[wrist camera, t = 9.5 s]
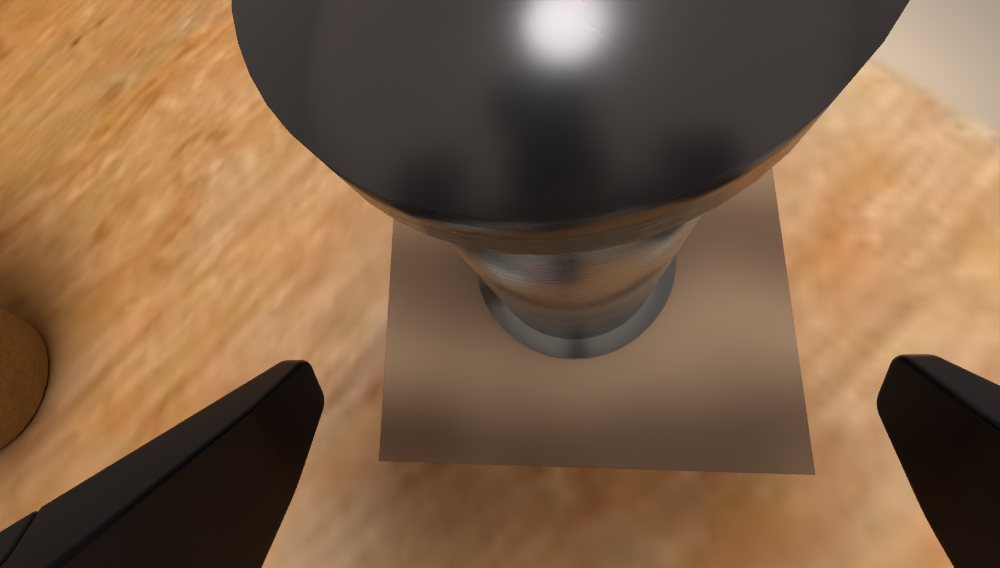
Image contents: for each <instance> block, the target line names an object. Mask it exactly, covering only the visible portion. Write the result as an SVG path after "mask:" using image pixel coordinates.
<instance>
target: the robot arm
mask: <svg viewBox="0 0 1000 568" xmlns="http://www.w3.org/2000/svg"><path fill="white" fill-rule="evenodd" d="M323 407H324V395H323V392H322V390H321V387H320V385H319V383H318V380H317V378H316V376H315V373H314V371H313V369H312V366H311V365H310V364H309V363H308V362H307V361H304V360H286V361H282V362H280V363H278V364H276V365H275V366H273V367H272V368H270V369H268V370H267V371H265V372H263V373H262V374H260V375H258V376H257V377H255V378H253V379H252V380H250V381H248V382H247V383H245V384H244V385H242V386H240V387H239V388H237V389H235V390H234V391H232V392H230V393H229V394H227V395H225V396H224V397H222V398H220V399H219V400H217V401H216V402H214V403H212V404H211V405H209V406H207V407H206V408H204V409H202V410H201V411H199V412H197V413H196V414H194V415H192V416H191V417H189V418H188V419H186V420H184V421H183V422H181V423H179V424H178V425H176V426H174V427H173V428H171V429H169V430H168V431H166V432H164V433H163V434H161V435H160V436H158V437H156V438H155V439H153V440H151V441H150V442H148V443H146V444H145V445H143V446H141V447H140V448H138V449H136V450H135V451H133V452H132V453H130V454H128V455H127V456H125V457H123V458H122V459H120V460H118V461H117V462H115V463H113V464H112V465H110V466H108V467H107V468H105V469H104V470H102V471H100V472H99V473H97V474H95V475H94V476H92V477H90V478H89V479H87V480H85V481H84V482H82V483H80V484H79V485H77V486H76V487H74V488H72V489H71V490H69V491H67V492H66V493H64V494H62V495H61V496H59V497H57V498H56V499H54V500H52V501H51V502H49V503H48V504H46V505H44V506H43V507H41V509H40V510H39V511H35V512H32V513H31V514H29V515H27V516H26V517H24V518H23V519H21V520H19V521H18V522H16V523H14V524H13V525H11V526H9V527H8V528H6V529H4V530H3V531H1V532H0V568H262V565H263V563H264V561H265V559H266V556H267V554H268V552H269V550H270V547H271V545H272V543H273V541H274V538H275V536H276V534H277V532H278V529H279V527H280V525H281V523H282V520H283V518H284V516H285V514H286V511H287V509H288V507H289V505H290V502H291V500H292V498H293V495H294V493H295V490H296V488H297V485H298V482H299V479H300V477H301V474H302V471H303V468H304V465H305V462H306V459H307V456H308V453H309V450H310V447H311V444H312V441H313V438H314V435H315V432H316V429H317V426H318V423H319V420H320V417H321V414H322V411H323ZM877 409H878V413H879V416H880V418H881V420H882V422H883V425H884V427H885V429H886V431H887V433H888V436H889V438H890V440H891V442H892V445H893V447H894V449H895V451H896V454H897V456H898V458H899V460H900V463H901V465H902V467H903V469H904V471H905V474H906V476H907V478H908V480H909V483H910V485H911V487H912V489H913V492H914V494H915V496H916V498H917V500H918V503H919V505H920V507H921V509H922V511H923V513H924V515H925V517H926V519H927V521H928V522H929V524H930V526H931V528H932V530H933V532H934V533H935V535H936V537H937V539H938V540H939V542H940V544H941V546H942V547H943V549H944V551H945V553H946V554H947V556H948V558H949V559H950V561H951V563H952V565H953V566H954V568H1000V386H999V385H997V384H995V383H993V382H991V381H989V380H987V379H984V378H982V377H980V376H978V375H976V374H974V373H972V372H970V371H967V370H965V369H963V368H961V367H959V366H957V365H955V364H953V363H950V362H948V361H946V360H944V359H942V358H940V357H937V356H934V355H929V354H911V355H900V356H897V357H895V358H894V359H893V360H892V362H891V364H890V366H889V369H888V371H887V374H886V376H885V379H884V381H883V384H882V386H881V389H880V391H879V394H878V397H877Z"/></svg>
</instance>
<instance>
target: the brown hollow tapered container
mask: <svg viewBox="0 0 1000 568" xmlns="http://www.w3.org/2000/svg"><path fill="white" fill-rule="evenodd" d="M47 377H48V355H47V350H46V347H45V344H44V341H43V339H42V338H41V336H40V334H39V333H38V331H37V330H36V329H35V328H34V327H33V326H32V325H31V324H29V323H28V322H26V321H24V320H22V319H21V318H19V317H17V316H15V315H13V314H11V313H9V312H7V311H6V310H4V309H2V308H0V449H1V448H3V447H4V446H5V445H7V444H8V443H9V442H11V441H12V440H13V439H14V438H15V437H16V436H17V435H19V433H20V432H21V431H22V430H23V429H24V428H25V427H26V425H27V424H28V422H29V421H30V420H31V418H32V417H33V415H34V413H35V412H36V410H37V408H38V406H39V404H40V402H41V399H42V396H43V393H44V390H45V386H46V383H47Z"/></svg>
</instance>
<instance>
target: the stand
mask: <svg viewBox="0 0 1000 568" xmlns="http://www.w3.org/2000/svg"><path fill="white" fill-rule="evenodd" d="M379 461H399V462H430V463H461V464H492V465H523V466H555V467H586V468H617V469H648V470H680V471H711V472H742V473H773V474H804V475H815V470H814V463H813V456H812V449H811V442H810V435H809V427H808V420H807V413H806V406H805V399H804V392H803V385H802V377H801V370H800V363H799V356H798V349H797V342H796V335H795V328H794V320H793V313H792V306H791V299H790V292H789V285H788V278H787V270H786V263H785V256H784V249H783V242H782V235H781V228H780V220H779V213H778V206H777V199H776V192H775V185H774V178H773V170H772V168H771V169H770V170H769V171H767V172H766V173H765V174H764V175H763V176H762V177H761V178H760V179H758V180H757V181H756V182H754V183H753V184H751V185H750V186H748V187H747V188H745V189H744V190H742V191H741V192H739V193H738V194H736V195H735V196H733V197H732V198H731V199H729V200H728V201H726V202H725V203H723V204H722V205H720V206H718V207H716V208H714V209H712V210H710V211H708V212H706V213H704V214H702V216H701V217H700V219H699V220H698V222H697V223H696V225H695V226H694V228H693V229H692V231H691V233H690V234H689V236H688V237H687V239H686V240H685V242H684V243H683V245H682V246H681V248H680V249H679V251H678V252H677V254H676V272H675V279H674V283H673V287H672V290H671V294H670V296H669V298H668V300H667V302H666V305H665V306H664V308H663V309H662V311H661V313H660V314H659V316H658V317H657V318H656V319H655V321H654V322H653V323H652V324H651V325H650V327H649V328H648V329H647V330H646V331H644V332H643V333H642V334H641V335H640V336H639V337H638V338H637V339H635V340H634V341H632V342H631V343H629V344H628V345H626V346H625V347H623V348H621V349H618V350H616V351H614V352H612V353H609V354H606V355H603V356H599V357H594V358H589V359H562V358H557V357H552V356H548V355H545V354H542V353H539V352H537V351H535V350H533V349H531V348H529V347H527V346H525V345H524V344H522V343H521V342H519V341H518V340H516V339H515V338H514V337H512V336H511V335H510V334H509V333H508V332H507V331H506V330H504V329H503V328H502V326H501V325H500V324H499V323H498V322H497V321H496V320H495V318H494V317H493V315H492V314H491V312H490V311H489V309H488V307H487V305H486V303H485V301H484V299H483V296H482V293H481V290H480V287H479V283H478V277H477V273H476V272H475V271H474V270H473V269H472V267H471V266H470V265H469V264H468V263H467V262H466V261H465V260H464V259H463V258H462V256H461V255H460V254H459V253H458V252H457V251H456V250H455V249H454V248H453V246H452V245H451V244H450V243H449V242H447V241H444V240H440V239H437V238H434V237H431V236H429V235H426V234H424V233H422V232H420V231H418V230H415V229H413V228H411V227H409V226H407V225H404V224H402V223H400V222H398V221H396V220H395V219H394V222H393V238H392V255H391V272H390V288H389V305H388V322H387V338H386V355H385V372H384V388H383V405H382V422H381V438H380V455H379Z"/></svg>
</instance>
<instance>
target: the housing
mask: <svg viewBox="0 0 1000 568" xmlns="http://www.w3.org/2000/svg"><path fill="white" fill-rule="evenodd" d="M908 2H909V0H232V14H233V19H234V24H235V29H236V34H237V39H238V44H239V47H240V49H241V52H242V55H243V58H244V60H245V63H246V66H247V68H248V71H249V74H250V76H251V78H252V79H253V81H254V83H255V85H256V87H257V88H258V90H259V92H260V94H261V95H262V97H263V99H264V101H265V102H266V104H267V106H268V107H269V108H270V109H271V110H272V112H273V113H274V114H275V115H276V117H277V118H278V119H279V120H280V121H281V123H282V124H283V125H284V126H285V128H286V129H287V130H288V131H289V133H290V134H292V135H293V136H294V137H295V138H296V139H297V140H298V141H300V142H301V143H302V144H303V145H304V146H305V147H306V148H307V149H309V150H310V151H311V152H312V153H313V154H314V155H315V156H316V157H318V158H319V159H320V160H321V161H322V162H323V163H324V164H326V165H327V166H328V167H329V168H330V169H331V170H332V171H334V172H335V173H336V174H337V175H338V176H339V177H340V178H342V179H343V180H344V181H345V182H346V183H347V184H348V185H349V186H351V187H352V188H353V189H354V190H355V191H356V192H357V193H359V194H360V195H361V196H362V197H363V198H364V199H365V200H367V201H368V202H369V203H370V204H372V205H373V206H375V207H376V208H378V209H379V210H381V211H383V212H384V213H386V214H387V215H389V216H390V217H392V218H393V219H395V220H396V221H398V222H400V223H402V224H404V225H407V226H409V227H411V228H413V229H415V230H418V231H420V232H422V233H424V234H426V235H429V236H431V237H434V238H437V239H440V240H444V241H447V242H449V243H450V244H451V245H452V246H453V248H454V249H455V250H456V251H457V252H458V253H459V254H460V255H461V256H462V258H463V259H464V260H465V261H466V262H467V263H468V264H469V265H470V266H471V267H472V269H473V270H474V271H475V272H476V273H477V277H478V283H479V287H480V290H481V293H482V296H483V299H484V301H485V303H486V305H487V307H488V309H489V311H490V312H491V314H492V315H493V317H494V318H495V320H496V321H497V322H498V323H499V324H500V325H501V326H502V328H503V329H504V330H506V331H507V332H508V333H509V334H510V335H511V336H512V337H514V338H515V339H516V340H518V341H519V342H521V343H522V344H524V345H525V346H527V347H529V348H531V349H533V350H535V351H537V352H539V353H542V354H545V355H548V356H552V357H557V358H562V359H589V358H594V357H599V356H603V355H606V354H609V353H612V352H614V351H616V350H618V349H621V348H623V347H625V346H626V345H628V344H629V343H631V342H632V341H634V340H635V339H637V338H638V337H639V336H640V335H641V334H642V333H643V332H644V331H646V330H647V329H648V328H649V327H650V325H651V324H652V323H653V322H654V321H655V319H656V318H657V317H658V316H659V314H660V313H661V311H662V309H663V308H664V306H665V305H666V302H667V300H668V298H669V296H670V294H671V290H672V287H673V283H674V279H675V272H676V254H677V252H678V251H679V249H680V248H681V246H682V245H683V243H684V242H685V240H686V239H687V237H688V236H689V234H690V233H691V231H692V229H693V228H694V226H695V225H696V223H697V222H698V220H699V219H700V217H701V216H702V214H704V213H706V212H708V211H710V210H712V209H714V208H716V207H718V206H720V205H722V204H723V203H725V202H726V201H728V200H729V199H731V198H732V197H733V196H735V195H736V194H738V193H739V192H741V191H742V190H744V189H745V188H747V187H748V186H750V185H751V184H753V183H754V182H756V181H757V180H758V179H760V178H761V177H762V176H763V175H764V174H765V173H766V172H767V171H769V170H770V169H771V168H772V167H773V166H774V165H775V164H776V163H778V162H779V161H780V160H781V159H782V158H783V157H784V156H785V155H787V154H788V153H789V152H790V151H791V150H792V149H793V148H794V146H795V145H796V144H797V143H798V142H799V141H800V139H801V138H802V137H803V136H804V135H805V134H806V132H807V131H808V130H809V129H810V128H811V127H812V125H813V124H814V123H815V122H816V121H817V120H818V118H819V117H820V116H821V115H822V114H823V112H824V111H825V110H826V109H827V108H828V107H829V105H830V104H831V103H832V102H833V101H834V100H835V98H836V97H837V96H838V95H839V94H840V93H841V91H842V90H843V89H844V88H845V87H846V85H847V84H848V83H849V82H850V81H851V80H852V78H853V77H854V76H855V75H856V74H857V73H858V71H859V70H860V69H861V68H862V67H863V66H864V64H865V63H866V62H867V61H868V60H869V59H870V57H871V56H872V55H873V54H874V53H875V51H876V50H877V49H878V48H879V47H880V46H881V44H882V43H883V42H884V41H885V39H886V37H887V36H888V34H889V32H890V31H891V29H892V28H893V26H894V24H895V23H896V21H897V20H898V18H899V17H900V15H901V13H902V12H903V10H904V9H905V7H906V5H907V4H908Z"/></svg>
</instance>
